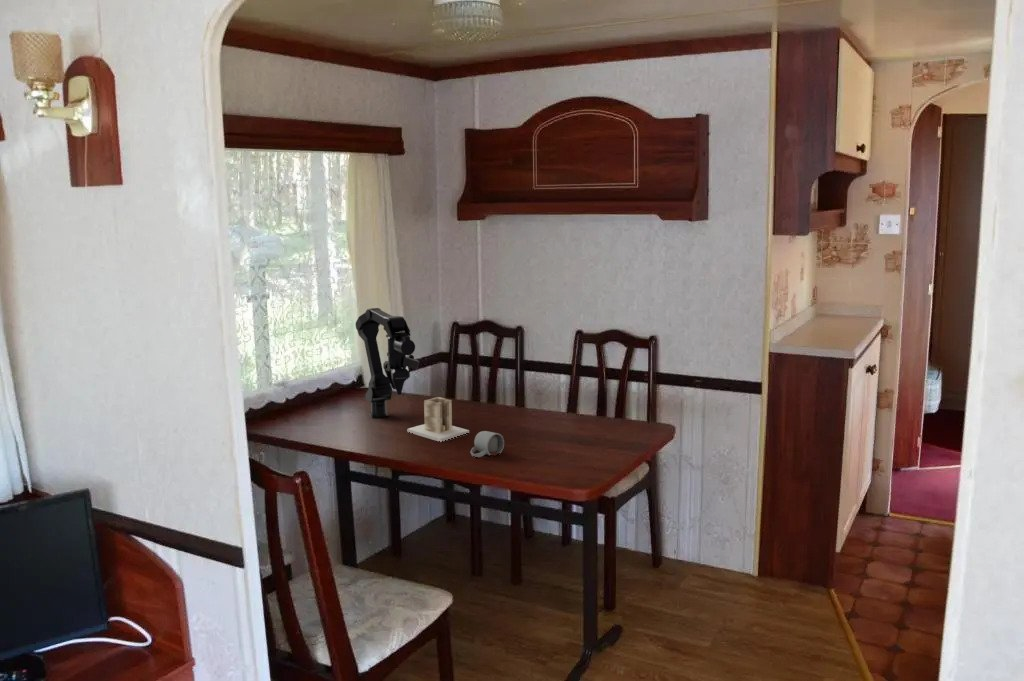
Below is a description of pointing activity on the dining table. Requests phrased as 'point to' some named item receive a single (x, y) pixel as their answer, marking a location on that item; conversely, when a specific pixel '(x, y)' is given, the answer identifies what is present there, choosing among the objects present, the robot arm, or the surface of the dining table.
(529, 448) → the dining table surface
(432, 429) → the beech collar
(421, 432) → the post plate
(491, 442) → the ceramic mug
